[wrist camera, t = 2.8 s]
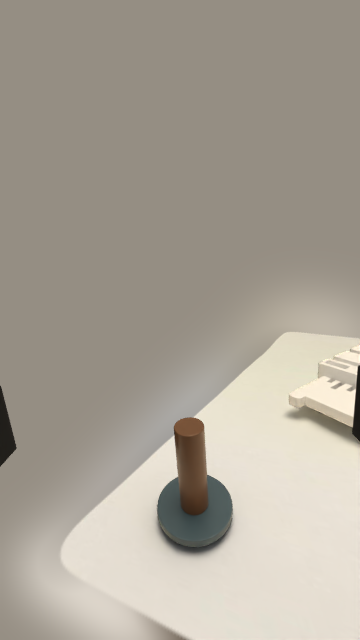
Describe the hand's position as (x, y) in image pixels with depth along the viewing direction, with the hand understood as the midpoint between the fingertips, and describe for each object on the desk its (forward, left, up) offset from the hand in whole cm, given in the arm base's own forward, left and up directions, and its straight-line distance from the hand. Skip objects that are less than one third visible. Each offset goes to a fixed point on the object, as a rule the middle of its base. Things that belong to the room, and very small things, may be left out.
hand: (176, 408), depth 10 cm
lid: (+4, +9, -16) cm, 19 cm away
